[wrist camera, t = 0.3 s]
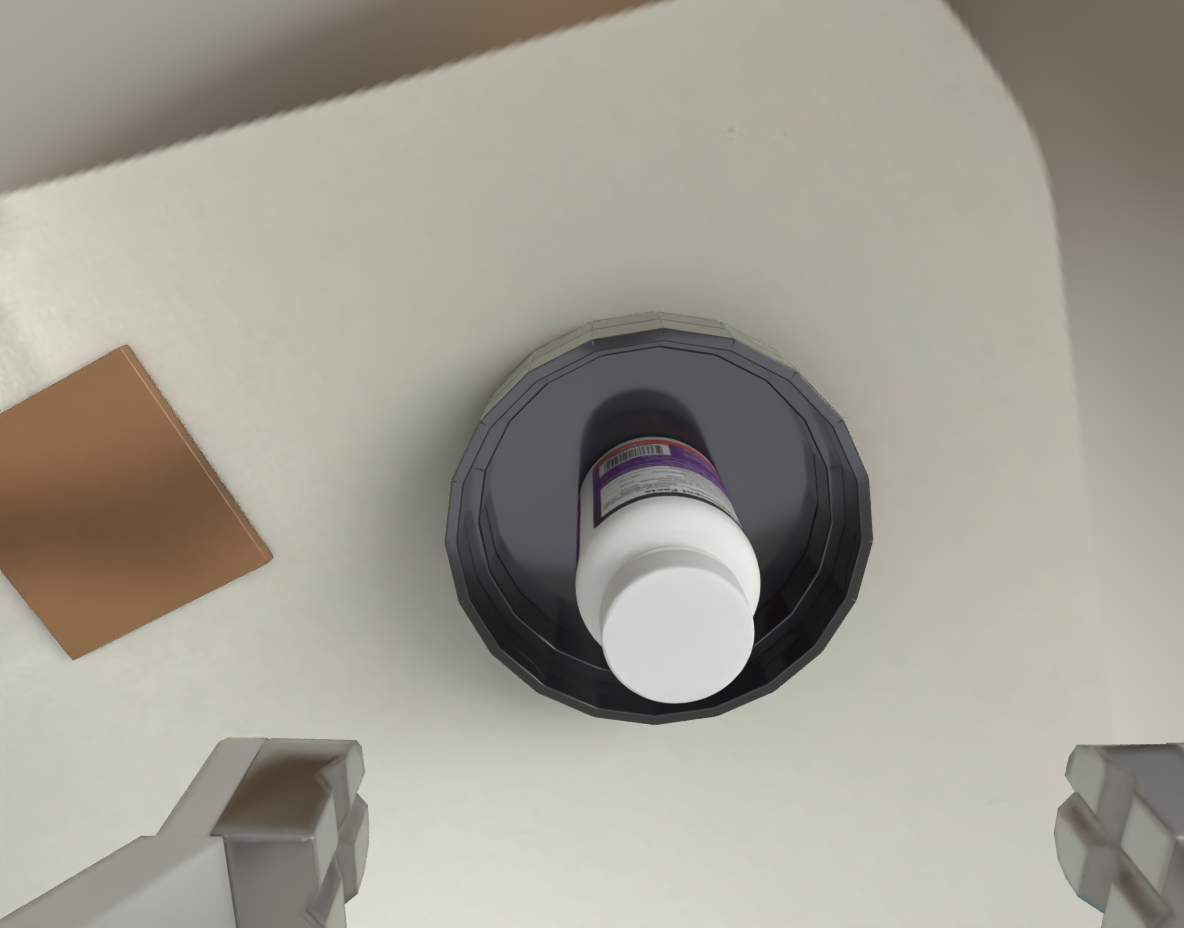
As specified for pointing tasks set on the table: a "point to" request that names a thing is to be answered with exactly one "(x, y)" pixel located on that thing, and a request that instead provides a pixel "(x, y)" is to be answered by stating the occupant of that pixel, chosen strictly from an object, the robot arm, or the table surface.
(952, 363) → the table surface
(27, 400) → the copper plate
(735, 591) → the pill bottle
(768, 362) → the pan
